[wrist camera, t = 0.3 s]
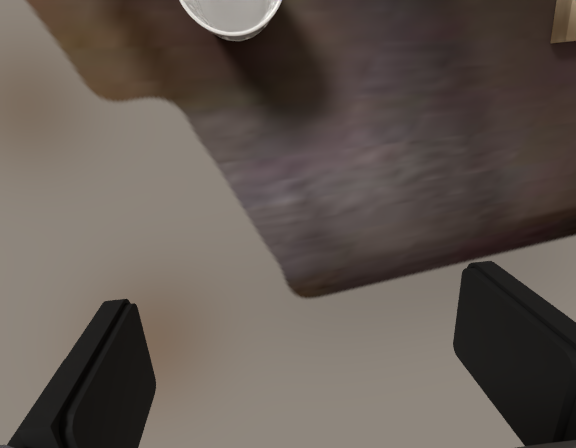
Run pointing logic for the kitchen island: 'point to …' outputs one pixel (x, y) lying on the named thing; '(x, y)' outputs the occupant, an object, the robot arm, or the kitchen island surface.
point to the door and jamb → (564, 22)
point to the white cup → (232, 16)
